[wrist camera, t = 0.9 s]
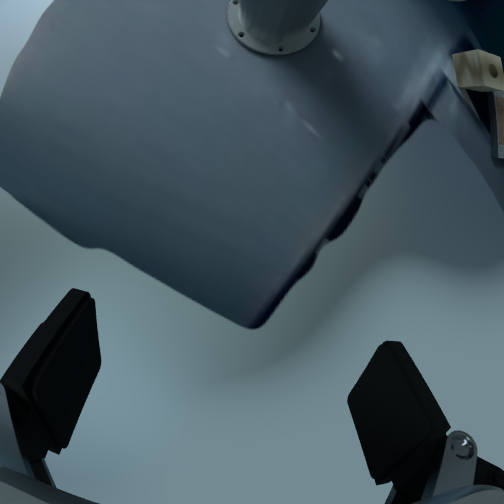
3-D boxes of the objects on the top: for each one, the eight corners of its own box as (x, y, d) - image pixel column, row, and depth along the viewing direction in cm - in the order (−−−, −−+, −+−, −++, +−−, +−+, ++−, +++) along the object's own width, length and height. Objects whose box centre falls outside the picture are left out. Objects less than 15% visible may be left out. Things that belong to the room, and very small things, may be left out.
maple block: (452, 54, 32) (478, 49, 25) (474, 60, 32) (500, 57, 25) (457, 87, 34) (484, 85, 28) (479, 91, 34) (506, 91, 27)
